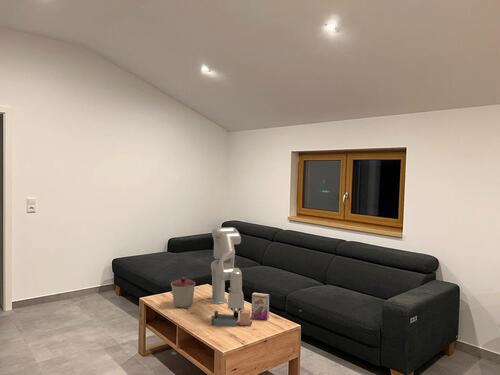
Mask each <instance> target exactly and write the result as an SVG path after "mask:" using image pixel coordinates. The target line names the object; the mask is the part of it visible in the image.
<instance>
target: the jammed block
mask: <svg viewBox="0 0 500 375" xmlns="http://www.w3.org/2000/svg"><path fill="white" fill-rule="evenodd" d="M250 321H251V310H250V309H245V308H244V309H243V310H240V311H239V323H240V325H249V323H250Z"/></svg>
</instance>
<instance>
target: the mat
mask: <svg viewBox="0 0 500 375" xmlns="http://www.w3.org/2000/svg"><path fill="white" fill-rule="evenodd" d="M252 324H253V320H250V323H249V325H240V322H239V324H238V327H245V328H247V327H248V328H250V327H252Z"/></svg>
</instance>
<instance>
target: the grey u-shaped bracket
mask: <svg viewBox="0 0 500 375" xmlns="http://www.w3.org/2000/svg"><path fill="white" fill-rule="evenodd" d="M213 313H214V315H211V318H210V319H211V324H210V325H211V326H220V327H222V326H224V327H237V322H239V321H240V314H238V317H237V319H236V318H234V314H229V313H219V310H214V312H213Z"/></svg>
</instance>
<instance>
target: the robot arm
mask: <svg viewBox="0 0 500 375" xmlns="http://www.w3.org/2000/svg"><path fill="white" fill-rule="evenodd" d="M211 235H212V239H213V258H214V259H215V260H213V261H212V262H211V264H210V269H211V276H212V278H211V279H212V280H211V282H212V283H211V284H212V285H211V290H212V291H211V293H212V294H211V298H210V300H209V302H210V303H211V304H214V305H215V304H216V305H222V304H226V303H227V309H228V310H231V311H232V312H233V315H234V318H236V319H237V317H238V315H239V313H240V310H243V309H244V310H245V306H244V305H245V300H244V298H245V297H244V291H243V288H242V287H243V276H242V275H243V273H242V271H241V269H240V268H239V267H235V256H236V250H235V245H239V244H241V242H242V237H241V234H240V232H239V231H238V230H237V228H235V227H232V226H231V227H228V226H227V227H215V228H213V229H212V232H211ZM226 281H229V282H230V283H229V284H230V285H229V286H230V287H228V289H227V290H228V291H229V292H228V298H226V296H225V295H226V293H225V292H226V290H225V289H226V284H225V283H226Z"/></svg>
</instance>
